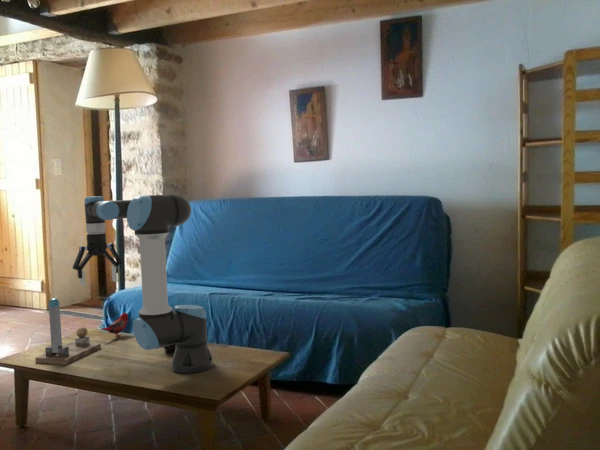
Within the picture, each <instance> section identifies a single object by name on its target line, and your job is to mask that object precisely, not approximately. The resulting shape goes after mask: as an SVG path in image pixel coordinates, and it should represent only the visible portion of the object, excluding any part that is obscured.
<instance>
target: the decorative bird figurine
mask: <svg viewBox="0 0 600 450" xmlns="http://www.w3.org/2000/svg"><path fill="white" fill-rule="evenodd" d="M129 316H130V315H128V313H127V312H123V313H122V314H121V315H120V316H119V318H118V319H116V320H114V321H113V322H112V323H111V324H110V325H109V326H108V327H102V328H99V330H100V331H101V330H102V331H106V332H108V333H110V334H114V335H115V336H114V338H116V337H117V338H118V337H121V336H122V335H123V333H122V332H123V331H124V330H125V328H126V326H127V323H128V318H129ZM120 333H121V334H120Z"/></svg>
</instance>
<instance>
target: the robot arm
mask: <svg viewBox="0 0 600 450" xmlns="http://www.w3.org/2000/svg"><path fill="white" fill-rule="evenodd" d="M83 205H84V214H85V229H86V230H85V232H86V233H87V234H86V245H85V246H83V245H80V246H79V249H78V254H77V255H76V258H75V260H74V263H73V265H72V269H73V270H75V271H77V278H78V279H80V286H81V287H85V286H86V278H85V270H83V269H84V268H85V266H86V265H87V263H88V262H90V259H91V258H93V256H94V257H97V256H104V257H105V258H106V260H108V261H109V262H110V263H111V264H112V265H111V278H112V282H114V283H115V282H117V281H118V279H117V278H118V277H117V275H118V274H119V266H120V265H122V264H123V261H122V259H121V257H120V256H119V254H118V251H116V249H115V244H114V243H112V242H109V243H108V244H107V236H106V235H107V234H106V233H105V232H106V221H112V220H119V219H126V222H127V224H128V225H127V226H128V227H129V229H130V230H132V231H134V235H135V237H136V238H138V240H139V253H140V255H139V256H140V257H139V258H140V273H141V290H142V291H141V292H142V296H141V297H142V307H141V308H140V310H138V317H137V318H135V319H134V321H133V323H132V332H133V335H134V338H135V341H136V342H137V344H138V346H140V348H141V349H143V350H145V351H150V350H151V351H152V350H158V349H159V348H160V349H161V348H164V347H165V346H169V345H173V344H176V349H175V352H174V354H173V357H172V361H171V370H172V371H173V372H175V373H178V374H195V373H200V372H204V371H207V370H209V369H211V368H212V367H213V365H214V363H213V362H214V361H213V360H214V359H213V355H212V354H211V351H210V349H209V346H208V334H207V333H208V332H207V331H208V330H207V329H208V328H207V314H206V312H207V311H206V309H205V308H204V307H203V306H201V305H197V304H196V305H194V304H178V305H177V304H176V305H175V306H173V307H172V306H170V305H169V300H168V299H169V298H168V280H167V277H168V275H167V258H166V257H167V256H166V237H167V236H168V235H169V234H170V231H169V229H170V228H173V227H178V226H182V225H183V224H185V223H186V222H187V221H188V220H189V219H190V216H191V215H192V206H191V203H190V201H189V200H188V199H186V198H185V197H184V196H181V195H179V194H158V195H157V194H151V195H148V194H146V195H138V196H135V197H133V199H127V200H126V199H125V200H123V199H122V200H121V199H120V200H104V197H103V196H101V195H99V196H86V197H85V198H84V204H83ZM107 249H109V251H110V253H111V254H112V256H113V257H112V256H111V254H109V252H108V251H107ZM86 250H87V253H86V254H85V252H86ZM84 254H85V256H84ZM83 256H84V257H83Z"/></svg>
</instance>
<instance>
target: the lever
mask: <svg viewBox="0 0 600 450" xmlns="http://www.w3.org/2000/svg"><path fill="white" fill-rule="evenodd" d="M60 304H61V303H60V301H59V299H58V298H51V299H50V300H49V301H48V316H49V327H50V328H49V329H50V344H51V347H52V353H53V354H56V355H58V348H60V347H62V346H63V343H62V342H63V341H62V340H63V337H62V324H61V309H60Z"/></svg>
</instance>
